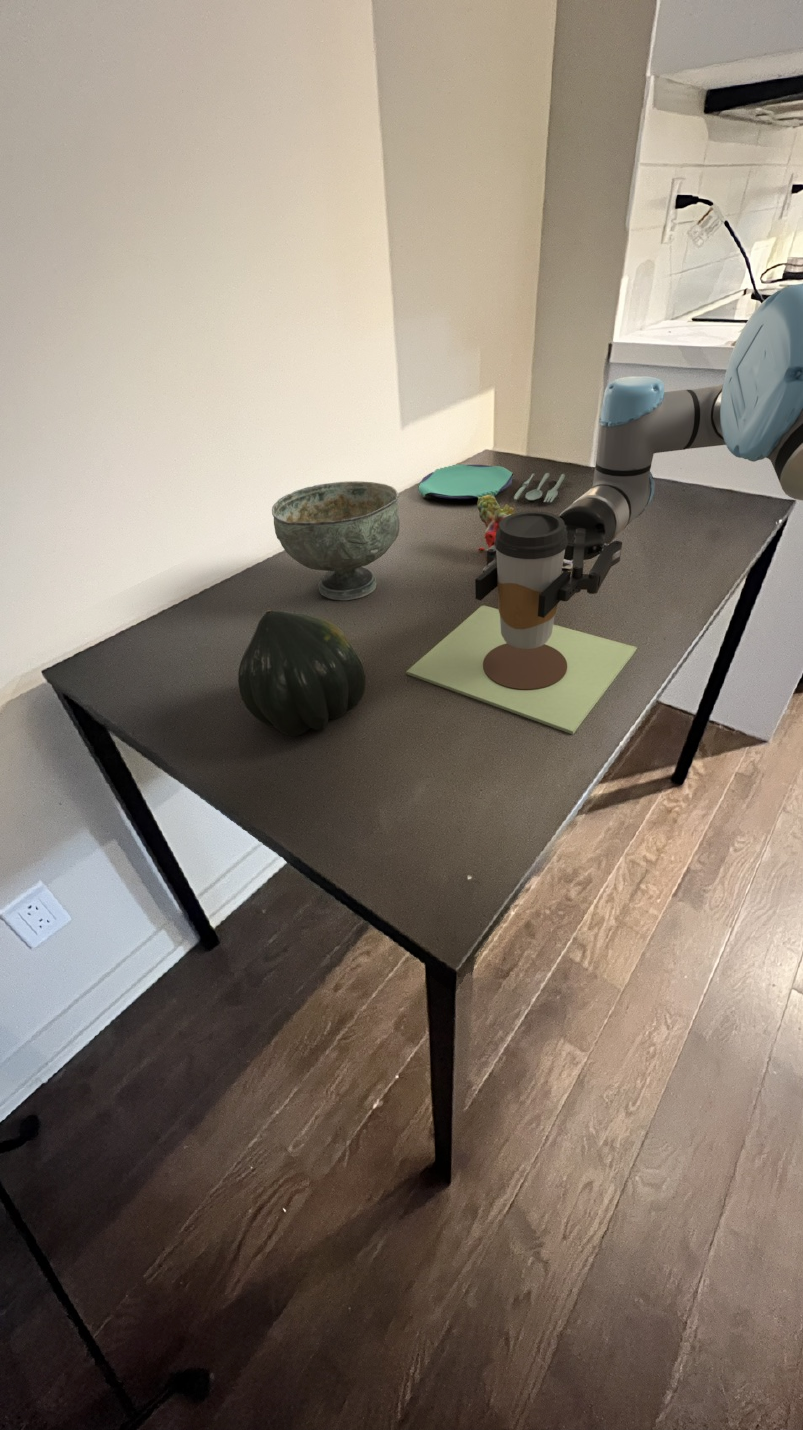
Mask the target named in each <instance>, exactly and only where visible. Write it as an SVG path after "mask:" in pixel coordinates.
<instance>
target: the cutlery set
mask: <svg viewBox="0 0 803 1430" xmlns="http://www.w3.org/2000/svg"><path fill="white" fill-rule="evenodd" d="M513 475H514V472H513V471H510V470H509V469H507V468H505V467H504V466H501V465H496V466H495V465H494V466H493V465H487V464H460V463H459V464H458V463H457V464H452V465H448V466H444V467H440V468H436V469H435V470H434V471H431V472H429V473H428V474H427V475H425V476H424V477H422V479H421V481H419V485H418V492H419V494H420V495H421V496H422V497H423V498H425V496H426V495H427V494H428V495H430V496H434V497H436V498H441V499H446V500H447V499H448V500H472V499H478V498H479V497H483V496H487V495H493V496H494V497H495V498H496V496H497V495H498V494H499V493H500V492H503V491H505V490H506V489H508V488H509V487H510V486H511V485H512V483H513V480H514V476H513ZM535 475H536V474H535V473H531V475H530V477H528V478H527V480H526V481H524V482H523V483H522V484H521V487H520V488H519V489H518V490H517V491H516V493H515V494H514V495H513V500H514V501H515V502H516V501H517V500H518V499H519V498H520V497H521V495H522V494H523V492H524V491H525V490H528V487H529V485H530V482H531V481H532V479H533V478H535V477H536V476H535ZM549 477H550V472H545V474H544V475H543V477H542V478H541V480H540V483H539V484H538V486H537V488H536V489H531V490H529V491H528V492H526V494H525V495H524V496H525V497H524V498H525V499H527V501H533V502H534V501H536V500H540V498H542V496H543V491H542V490H540V489H541V488H542V487H543V485H544V483H546V481H547V480H548V478H549ZM565 478H566V474H565V473H562V474H561V475H560V476H559V479H558V480H557V482H556V484H555V485H554V487H552V488H551V489H550V490H549V489H548V490H547V492H546V495H545V498H544V500H543V503H550V504H551V503H553V502H554V500H555V499H556V498H557V496H558V493H559V491H558V489H559V488H560V487H561V485H562V482H563V481H564V479H565Z"/></svg>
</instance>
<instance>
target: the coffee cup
mask: <svg viewBox="0 0 803 1430" xmlns="http://www.w3.org/2000/svg"><path fill="white" fill-rule="evenodd" d="M514 513H515V512H514ZM558 516H559V515H556V514H554V513H552V512H551V513H550V512H546V511H539V510H538V511H537V510H536V511H533V510H532V511H521V512H516V513H515V514H512V515H509V516H507V517H505V518H504V519H502V520H501V522H500V524H499V528H498V530H497V531H496V536H495V538H496V539H495V543H494V546H495V548H496V555H497V572H498V577H497V600H498V609H499V613H500V625H501V635H502V637H503V638H504V640H505V642H506V643H507V644H509V645H511V646H513V647H516V648H521V649H531V648H537V647H540V646H542V645H544V644H545V643H546V642H547V641H548V639H549V638H550V637H551V635H552V629H553V625H554V622H555V616H556V613H557V608H558V604H557V605H556V606H555V607H554V608H553V609H552V610H551V611H550V612H549V613H548V614H547V615H546V616H545V617H544V618H542V617H539V616H538V604H539V595H540V594H541V593H542V592H543V591H544V590H545V589H546V588H547V587H548V586H549V585H550V584H551V583H552V582H553V581H554V580H556V579H557V578H558V577H559V576H560V575H561V574H562V573H563V568H562V566H563V560H564V554H565V549H566V547H567V545H568V541H567V530H566V529H565V527H564V521H563V520H562V518H560V517H558Z"/></svg>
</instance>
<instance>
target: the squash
mask: <svg viewBox="0 0 803 1430" xmlns="http://www.w3.org/2000/svg"><path fill="white" fill-rule="evenodd" d="M237 674H238V676H237V678H238V679H237V683H238V684H237V685H238V690H239V694H240V698H241V700H242V702H243V704H244V707H246V709H247V710H248V711H249V712H250V713H251V715H252V716H253V717H255V719H257V720H258V721H259V722H261V723H263V724H264V725H267V726H269V727H272V728H275V729H276V730H278V731H279V732H280V733H281V734H283V735H287V736H290V737H296V736H300V735H303V734H305V733H306V732H307V731H308V730H309V729H310V728H311V729H313V730H323V729H325V728H326V727H327V725H328V723H329V719H330V720H336V719H338V718H341V717H342V716H343V715H345V713H347V712H349V711H351V710H353V709H354V708H355V707H356V706H358V705H359V703H360V701H361V700H362V698H363V696H364V694H365V691H366V671H365V668H364V665H363V662H362V660H361V658H360V656H359V655H358V653H357V651H356V650H355V648H354V646H353V645H352V643H351V641H350V640H349V639H348V637H347V636H346V634H345V633H344V632H343V631H342V630H341V629H340V628H339V627H338V626H337V625H335V624H334V623H332V622H330V621H327V620H325V619H322V618H319V617H315V616H311V615H308V614H303V613H297V612H292V611H286V610H279V609H278V610H277V609H276V610H274V609H268V610H266V612H265V613H264V614H263V616H261V618H260V620H259V621H258V623H257V626H256V628H255V630H254V633H253V635H252V637H251V639H250V641H249V643H248V645H247V647H246V648H245V651H244V653H243V655H242V658H241V660H240V662H239V667H238V673H237Z"/></svg>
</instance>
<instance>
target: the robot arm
mask: <svg viewBox="0 0 803 1430" xmlns="http://www.w3.org/2000/svg"><path fill="white" fill-rule="evenodd" d="M603 395H604V396H603V399H602V404H601V410H600V415H599V419H598V425H599V426H598V438H597V447H596V448H597V449H596V459H595V465H594V472H593V481H592V486H591V488H589V489H588V490H587V491H586V492H584V494H582V495H581V496H580V497H579V498H577V499H576V500H575V501H573V502H572V503H571V504H570V505H568V506H567V507H566V508H565V509H564V510H563V511H562V512H561V513H560V514H559V515H557V516H558V517H560V518H562V520H563V521H564V527H565V529H566V530H567V541H568V545H567V547H566V549H565V554H564V559H565V560H570V561H572V560H573V566H572V568H571V571H567V570H564V571H562V572H561V575H560V576H559V577H558V578H557V579H556V580H554V581H553V582H552V583H551V584H550V585H549V586H548V587H547V588H546V589H545V590H544V591H543V592H542V593H541V594H540V595H539V604H538V616H539V617H542V618H544V617H545V616H546V615H547V614H548V613H549V612H550V611H551V610H552V609H553V608H554V607H555V606H556V605H557V606H558V604H559V603H560V602H567V601H569V600H570V599H571V598H573V596H574V595H575V594H576V593H581V591H582V590H583V591H584V590H585V591H586V593H588V594H590V595H595V594H597V593H598V591H599V590H600V588H601V586H602V585H603V582H604V580H605V579H606V577H607V575H608V574H609V572H610V570H611V568H612V567H613V566H615V565H617V564H618V563H619V562H621V556H622V548H623V542H622V541H621V540H615V539H616V538H617V537H618V536H619V535H620V534H621V533H622V532H623V531H624V530H625V529H626V528H627V526H628V525H629V524H631V523H632V522H633V521H634V520H636V519H637V518H638V517H640V516H641V515H642V514H643V512H644V511H645V510H646V508H647V507H648V506H649V504H650V503H651V501H652V500H653V497H654V495H655V491H656V483H655V479H654V475H653V474H652V472H651V468H652V463H653V459H654V455H655V454H660V453H661V454H662V453H669V452H675V451H677V452H678V451H685V450H692V449H701V448H709V447H711V448H712V447H719V446H726V447H727V449H728V451H729V452H730V453H731V455H733V456H735V457H736V458H739V459H744V460H748V461H750V462H754V463H755V462H757V461H761V460H765V459H768V460H769V461H770V463H771V465H772V467H773V469H774V472H775V475H776V477H777V479H778V482H779V484H780V488H781V489H782V491H783V492H784V494H785V495H786V496H787V497H788V498H789V497H790V498H792V499H793V500H798V501H803V283H797V284H793V285H789V286H786V287H783V288H782V289H779V290H777V291H775V292H773V293H772V294H771V295H769V296H768V297H767V298H766V299H765V300H763V301H762V302H761V303H760V304H759V305H758V307H757V308H756V309H755V310H754V311H753V313H751V316H750V317H749V318H748V320H747V321H746V323H745V324H744V326H743V327H742V329H741V331H740V334H739V335H738V337H737V339H736V342H735V344H734V346H733V348H732V352H731V354H730V357H729V360H728V363H727V367H726V370H725V375H724V379H723V383H722V384H717V385H713V386H707V387H706V386H705V387H700V388H699V387H698V388H693V389H679V390H671V391H665V384H664V382H663V381H662V379H659V378H658V377H654V376H644V375H640V376H633V375H632V376H624V377H620V378H617V379H614V380H613V381H611V382H610V383H608V385H607V386H606V388H605V391H604V394H603ZM596 557H597V558H596ZM594 558H596V560H595V561H594V563H593V564H592V567H591V568H590V570H589V572H588V573H584V561H589V560H591V559H594ZM497 577H498V572H497V555H496V548H495V546H494V545H493V546H491V547H490V548H489V547H488V548H486V566H484V567H483V569H482V572H481V574H480V575H478V576H477V577H476V578H475V579H474V589H475V590H474V591H475V592H474V593H475V600H477V601H481V602H482V601H483V600H484V598H486V597H487V596H489V594H490V593H492V592H493V591H494V590H495V589H497V588H498V586H497Z"/></svg>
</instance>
